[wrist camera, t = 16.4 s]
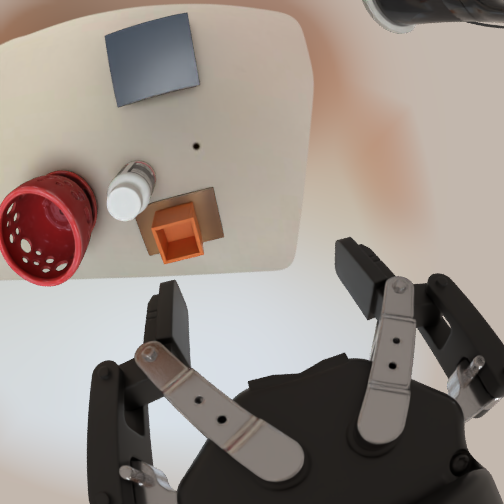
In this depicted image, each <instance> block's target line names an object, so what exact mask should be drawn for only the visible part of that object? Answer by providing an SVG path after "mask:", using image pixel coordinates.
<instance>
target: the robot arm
mask: <svg viewBox="0 0 504 504" xmlns="http://www.w3.org/2000/svg"><path fill="white" fill-rule="evenodd" d="M372 1H373V4H374V6H375V7H376V9H377V11H378V12H379V13H380V14H381V15H382V17H383V18H385V19H386V20H387V21H388V22H390V23H391V24H393V25H396V26H400V27H404V26H409V25H416V24H425V23H439V22H467V23H472V24H476V25H481V26H486V27H495V28H504V26H497V25H490V24H483V23H478V22H496V23H504V0H372ZM335 269H336V273H337V275H338V277H339V279H340V280H341V281H342V283H343V284H344V286H345V287H346V289H347V290H348V292H349V293H350V295H351V296H352V297H353V299H354V301H355V302H356V304H357V305H358V306H359V308H360V309H361V311H362V313H363V314H364V315H365V317H366V318H367V320H370V319H372V318H376V319H377V324H376V330H375V335H374V340H373V345H372V349H371V354H370V358H369V360H365V359H358V358H353V359H352V358H351V359H348V357H347V356H346V354H345V353H342V354H339V355H336V356H333V357H331V358H328V359H325V360H322V361H320V362H319V363H317V364H315V365H314V366H312V367H310V368H309V369H307V370H305V371H303V372H301V373H298V374H284V375H271V376H267V377H263V378H259V379H255V380H251V381H248V384H249V388H248V389H246V390H244V391H243V392H241V393H239V394H238V395H237V396H236V397H235V398H234V399H233V400H232V399H230V398H229V397H228V396H226V395H225V394H224V393H223V392H221V391H220V390H219V389H217V388H216V387H215V386H214V385H212V384H211V383H210V382H208V381H207V380H206V379H205V378H204V377H202V376H201V375H200V374H199V373H198V372H197V371H195V370H194V369H193V368H191V362H190V344H189V321H188V310H187V306H186V303H185V301H184V298H183V296H182V293H181V291H180V288H179V286H178V284H177V282H176V280H171V281H167V282H163V283H160V288H159V294H157V295H153V296H152V298H151V299H150V301H149V303H148V307H147V315H146V324H145V332H144V333H145V334H144V342H143V344H142V345H141V346H140V347H139V348H138V349H137V351H136V353H135V356H134V358H133V359H131V360H129V361H127V362H125V363H123V364H120V365H117V364H116V363H115V362H114V361H110V360H108V361H104V362H102V363H100V364H98V365H97V367H96V368H95V369H94V371H93V374H92V381H91V390H90V400H89V412H88V430H87V431H88V432H87V479H88V496H89V502H90V504H503V502H502V499H501V496H500V494H499V492H498V489H497V487H496V485H495V482H494V480H493V478H492V476H491V474H490V473H489V471H487V470H486V469H485V468H484V467H483V466H482V465H481V464H479V463H478V462H477V461H476V460H475V459H474V458H473V457H472V455H471V454H470V453H469V451H468V449H467V445H466V440H465V431H464V424H465V423H466V422H468V421H469V420H470V419H472V418H480V417H482V416H483V415H484V414H485V413H486V412H488V411H489V410H490V409H491V408H492V407H493V406H494V405H495V404H497V403H498V402H499V400H501V399H502V398H503V397H504V345H503V343H502V342H501V340H500V339H499V338H498V336H497V335H496V334H495V332H494V331H493V330H492V328H491V327H490V326H489V324H488V323H487V322H486V320H485V319H484V318H483V317H482V315H481V314H480V313H479V312H478V310H477V309H476V308H475V307H474V306H473V304H472V303H471V302H470V300H469V299H468V298H467V297H466V296H465V295H464V294H463V292H462V291H461V290H460V289H459V288H458V287H457V285H456V284H455V283H454V282H453V281H452V280H451V279H450V278H449V277H448V276H446V275H444V274H438V273H437V274H433V275H431V276H430V277H429V279H428V282H427V283H425V284H413V283H412V282H411V281H410V280H408V279H407V278H404V277H399V276H395V275H394V274H393V273H392V272H391V271H390V269H389V268H388V267H387V266H386V265H385V264H384V263H383V262H382V261H380V259H379V258H378V256H376V254H375V253H374V252H373V251H372V250H371V249H370V248H368V247H366V246H364V245H362V244H360V245H358V244H357V243H356V242H355V241H354V240H353V239H352V238H351V237H348V238H344V239H340V240H337V241H336V243H335ZM442 316H444V317H445V318H446V320H447V321H448V322H449V324H450V326H451V328H450V327H449V326H448V325H447V323H446V322H445V320H444V319H443V317H442ZM416 328H418V330H419V331H420V333H421V334H422V336H423V338H424V339H425V341H426V342H427V344H428V346H429V347H430V349H431V350H432V352H433V354H434V355H435V357H436V359H437V360H438V362H439V364H440V365H441V367H442V369H443V370H444V372H445V374H446V375H447V377H448V382H447V389H448V394H445V393H443V392H440V391H438V390H436V389H433V388H431V387H429V386H426V385H424V384H422V383H419V382H417V381H415V380H412V379H411V375H412V366H413V358H414V348H415V335H416ZM189 368H190V369H189ZM161 397H165V398H166V399H167V400H168V401H169V402H170V403H171V404H172V405H173V406H174V407H175V408H176V409H177V410H178V411H179V412H180V413H181V414H182V415H183V416H184V417H185V418H186V419H187V420H188V421H189V422H190V423H191V424H192V425H194V426H195V427H196V428H197V429H198V430H199V431H200V432H201V433H202V434H203V435H204V436H205V437H206V438H208V439H207V441H206V442H205V444H204V445H203V447H202V449H201V450H200V452H199V454H198V455H197V457H196V458H195V460H194V461H193V463H192V465H191V467H190V468H189V469H188V471H187V472H186V474H185V476H184V477H183V479H182V480H181V482H180V484H179V486H178V489H177V491H175V490H174V489H172V488H171V486H170V485H169V483H168V480H167V477H166V475H165V474H164V473H163V472H162V471H161V470H159V469H157V468H155V467H153V459H152V450H151V440H150V429H149V415H148V404H149V403H151V402H153V401H155V400H157V399H160V398H161Z"/></svg>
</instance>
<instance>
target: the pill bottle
mask: <svg viewBox="0 0 504 504" xmlns="http://www.w3.org/2000/svg"><path fill="white" fill-rule="evenodd" d="M155 182H156V176H155V173H154V170H153V169H152V167H151V166H150V165H148V164H147V163H145V162H142V161H133V162H130V163H128V164H127V165H125V166H124V167H123V169H122V170H121V171H120V172H119V173H118V174H117V176H116V177H115V178H114V179H113V180H112V181H111V183H110V185H109V187H108V191H107V209H108V211H109V213H110V214H111V216H113V217H114V218H115V219H117V220H120V221H129V220H132V219H134V218H135V217H136V216H137V215H138V214H140V213H141V212H142V211H144V210H145V208H146V207H147V206H148V204H149V202H150V198H151V195H152V192H153V189H154V186H155Z"/></svg>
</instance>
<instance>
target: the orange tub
mask: <svg viewBox="0 0 504 504" xmlns="http://www.w3.org/2000/svg"><path fill="white" fill-rule="evenodd" d="M151 230H152V233H153V236H154V238H155V241H156V244H157V247H158V249H159V252H160V255H161V257H162V260H163V263H164V264H167V263H172V262H176V261H180V260H184V259H188V258H192V257H196V256H200V255H204V251H203V243H202V235H201V231H200V228H199V224H198V220H197V216H196V212H195V209H194V205H193V202H189V203H185V204H181V205H177V206H173V207H170V208H166V209H162V210H158V211H155V214H154V218H153V222H152V227H151Z"/></svg>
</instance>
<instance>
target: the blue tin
mask: <svg viewBox="0 0 504 504" xmlns="http://www.w3.org/2000/svg"><path fill="white" fill-rule="evenodd" d="M105 41H106V48H107V54H108V61H109V66H110V72H111V77H112V83H113V88H114V93H115V97H116V102H117V107H121V106H124V105H127V104H132V103H135V102H138V101H141V100H145V99H148V98H152V97H155V96H159V95H162V94H166V93H170V92H174V91H178V90H182V89H186V88H191V87H195V86H197V85H200V82H199V76H198V71H197V65H196V60H195V54H194V48H193V43H192V37H191V31H190V25H189V19H188V13H182V14H177V15H172V16H168V17H164V18H160V19H156V20H152V21H148V22H145V23H141V24H138V25H135V26H131V27H128V28H125V29H122V30H119V31H117V32H114V33H111V34H108V35H106V36H105Z"/></svg>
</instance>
